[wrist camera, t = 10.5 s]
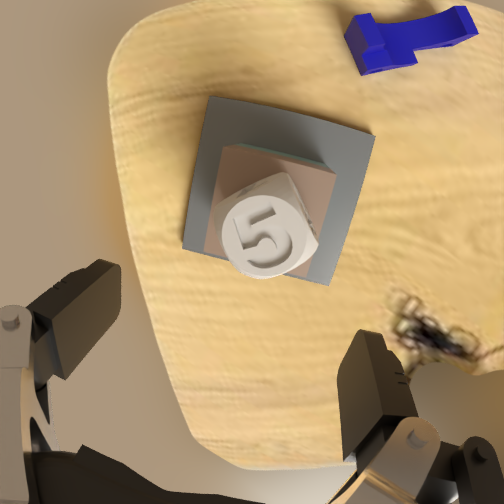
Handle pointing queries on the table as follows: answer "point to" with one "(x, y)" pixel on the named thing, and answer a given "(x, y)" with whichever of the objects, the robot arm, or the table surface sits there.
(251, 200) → the die
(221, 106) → the brick tower
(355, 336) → the robot arm
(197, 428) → the table surface
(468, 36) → the blue saddle bracket
